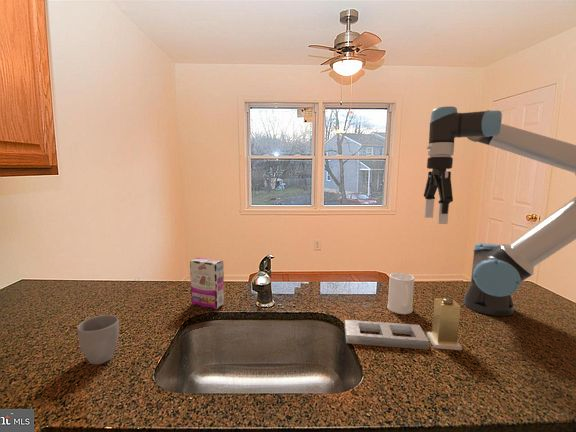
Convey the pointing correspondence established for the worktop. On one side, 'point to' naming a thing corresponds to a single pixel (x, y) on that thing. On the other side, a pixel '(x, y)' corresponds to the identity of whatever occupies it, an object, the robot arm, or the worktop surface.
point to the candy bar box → (207, 283)
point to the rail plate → (385, 334)
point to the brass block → (445, 320)
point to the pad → (443, 346)
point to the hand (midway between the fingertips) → (435, 220)
